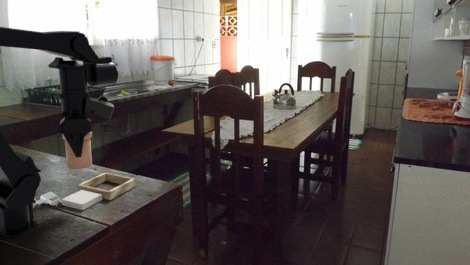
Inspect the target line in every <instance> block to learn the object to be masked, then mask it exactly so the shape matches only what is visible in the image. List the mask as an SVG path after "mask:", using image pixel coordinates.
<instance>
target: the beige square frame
mask: <svg viewBox="0 0 470 265" xmlns="http://www.w3.org/2000/svg"><path fill="white" fill-rule="evenodd" d="M136 181H137V180H136V178H134V177H130V176H126V175H120V174H115V173H109V172H103V173H101V174H99V175H97V176H94V177H92V178H90V179H88V180H85V181H84V182H80V183H79V184H77V192H78V191H80V190H86V191H90V192H94V193H99V194H102V200H107V201H111V200H114V199H116V198H117V197H118V196H120V195H122V194H124V193H126V192H127V191H130V190H131V189H133V188H135V187H136V186H137V184H136V183H137V182H136ZM105 182H110V183H115V184H119V185H118V186H115V187H113V188H112V189H110V190H107V189H102V188H98V187H97V186H99V185H101V184H103V183H105Z"/></svg>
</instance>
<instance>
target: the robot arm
mask: <svg viewBox="0 0 470 265" xmlns="http://www.w3.org/2000/svg"><path fill="white" fill-rule="evenodd" d="M0 47H3V48H5V47H7V48H15V49H28V50H38V51H41V52H45V53H47V54H51V55H55V58H54V59H53V61H51V62H50V63H49V64H48V65H47V67H48V68H49V69H56V70H58V75H59V76H58V77H59V89H60V93H59V95H60V96H59V97H60V101H61V103H60V104H61V118H62V119H61V120H60V123H59V129H60V131H59V132H60V134H63V135H64V137H65V138H66V140H67V142H68V144H69V145H70V147H71V149H72V151H73V152H74V154H75V156H76V157H81V155H82V149H83V143H84V137H85V136H86V135H87V134H88V133H90V132H92V133H93V127H92V123H93V122H92V119H90V117H92V115H96V116H98V117H102V118H104V119H107V120H111V118H112V116H113V113H114V110H115V106H114V104H113V103H112V102H109V101H108V97H107V96H104V95H99V97H98V98H94V97H90V92H89V90H88V85H89V86H91V87H97V86H98V87H99V86H109V85H111V86H112V85H114V84H116V83H117V82H118V79H119V71H118V70H117V67H116V64H115V63H114V62H113V58H112V57H111V56H101V57H99V56H98V54H97V53H96V52H95V50H94V49H93V48H92V46H91V45H90V42H89V39H88V37H87V36H86V34H85V33H84V32H81V31H77V30H76V31H74V30H73V31H71V30H58V31H57V30H54V31H52V30H51V31H43V32H42V31H37V30H36V31H35V30H34V31H33V30H28V29H27V30H26V29H18V28H12V27H5V26H0ZM56 56H57V57H56ZM58 56H59V57H58ZM63 57H64V58H69V59H70V60H64V58H63ZM79 62H82V63H81V64H80V63H79ZM63 135H62V136H63ZM40 172H42V170H41V169H39V168H38V167H37V166H36V164H35V162H34V160H33V158H32V156H30V155H28V154H25V153H22V152H20V151H18V150H16V151H14V149H13V148H12V147H11V145H10V144H9V142H8V141H7V140H6V138H5V136H4V135H3V133H2V132H1V131H0V235H1V236H5V237H7V238H11V239H13V238H16V237H17V236H19V235H21V234H23V233H25V232H27V231H29V230H31V229H32V228H35V227H36V226H38V225H39V222H38V221H36V220H35V215H34V214H35V213H34V212H35V211H34V204H33V203H34V201H35V198H36V194H37V191H38V188H39V186H40V183H41V182H42V177H41V175H40Z"/></svg>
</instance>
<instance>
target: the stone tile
mask: <svg viewBox="0 0 470 265" xmlns="http://www.w3.org/2000/svg"><path fill="white" fill-rule="evenodd" d="M102 200H103V199H102V194H99V193H94V192H90V191H86V190H80V191H78V190H77V191H76V192H74V193H72V194H70V195H68V196H66V197H63V198H61V205H62V206H65V207H68V208H73V209H76V210H79V211H84V210H86V209H88V208H90V207H92V206H94V205H96V204H97V203H99V202H101V201H102Z"/></svg>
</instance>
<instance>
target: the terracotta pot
mask: <svg viewBox="0 0 470 265" xmlns="http://www.w3.org/2000/svg"><path fill="white" fill-rule="evenodd" d="M61 134H62V133H61ZM92 137H93V131H92V132H90V133H88V134H87V135H86V136H85V137H84V143H83V149H82V155H81V157H76V156H75V154H74V152H73V151H72V149H71V147H70V145H69V144H68V142H67V140H66V138H65V137H64V135H63V134H62V139H63V140H64V146H65V157H66V158H65V160H66V168H68V169H70V170H82V169H83V170H84V169H87V168H90V167H92V165H93V157H92V156H93V155H92V141H91V138H92Z"/></svg>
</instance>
